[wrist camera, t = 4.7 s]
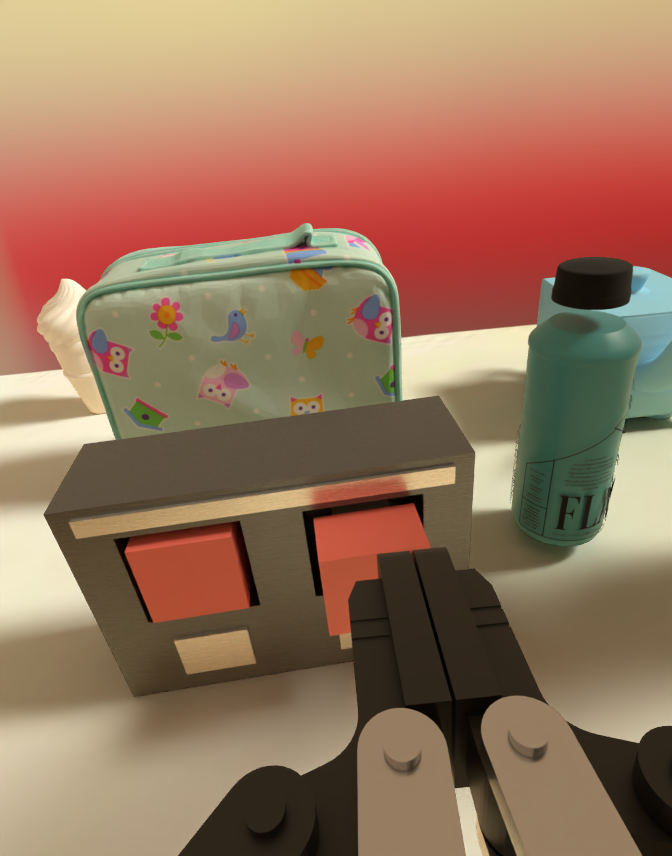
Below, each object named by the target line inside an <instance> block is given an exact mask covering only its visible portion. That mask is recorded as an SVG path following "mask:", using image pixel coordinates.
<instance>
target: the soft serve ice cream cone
mask: <svg viewBox="0 0 672 856" xmlns="http://www.w3.org/2000/svg"><path fill="white" fill-rule="evenodd" d="M85 292H86V290H85V289H83V287H81V286H80V285H79V284H78V283H76V282H75V281H73V280H70V279H62V280H61V283H60V286H59V289H58V291H57V293H56V295H55V296H53V298H52V299H50V300H48V301H47V304H45V305H44V306H43V307H42V312H41V313H40V314H39V316H38V318H37V322H38V323H39V325H38V327H37V331H38V332H39V333H40V334H42V335H44V339H45V340H46V341H48V343H49V346H50V349H51V351H53V352H54V353H55V355H56V357H57V359H58V361H59V363H60V365H61V367H62V369H63V373H64V376H65V377H66V378H68V379H69V381H70V382H71V384H72V385H73V387H74V388H75V390H76V391H77V393H78V394H79V396H80V397H81V399H82V400H83V402H84V403H85V405H86V406H87V408H88V409H89V411H90V412H92V413H95V414H102V413H106V410H105V407H104V404H103V402H102V399H101V396H100V393H99V390H98V387H97V384H96V381H95V378H94V376H93V373H92V371H91V368H90V366H89V363H88V360H87V357H86V354H85V351H84V349H83V346H82V343H81V340H80V336H79V331H78V327H77V321H76V309H77V305H78V302H79V300H80V298H81V297H82V295H83V294H84V293H85Z"/></svg>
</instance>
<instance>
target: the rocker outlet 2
mask: <svg viewBox="0 0 672 856" xmlns="http://www.w3.org/2000/svg"><path fill="white" fill-rule="evenodd" d="M331 508H332V515H330V516H323V517H316V518H313V519H314V528H315V536H316V545H317V553H318V561H319V568H320V575H321V581H322V588H323V595H324V601H325V608H326V615H327V621H328V628H329V635H330V636H334V635H340V634H347V633H351V628H350V617H349V606H348V599H349V596H350V594H351V592H352V589H353V587H354V585H355V582H356V581H361V580H371V579H378V568H377V554H382V553H392V552H401V551H410V552H411V553H412V550H419V549H428V548H430V543H429V541H428V538H427V536H426V533H425V531H424V528H423V526H422V523H421V520H420V518H419V515H418V513H417V510H416V508H415V505H414V503H411V504H404V505H397V506H389V503H388V500H387V499H383V500H377V501H370V502H363V503H356V504H349V505H343V506H336V507H331Z"/></svg>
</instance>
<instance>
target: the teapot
mask: <svg viewBox="0 0 672 856" xmlns="http://www.w3.org/2000/svg"><path fill="white" fill-rule="evenodd" d="M554 283H555V278H546V279H543V280H542V286H541V295H540V303H539V312H538V321H537V326H539V325H540V324H541V323H543V322H544V321H546V320H547V319H548V318H550V317H551V316H553V315H555V314H557V313H561V312H565V311H572V310H583V309H574V308H569V307H565V306H561V305H559V304H556V303H555V302H553V301H552V299H551V295H552V288H553V286H554ZM631 289H632V292H631V298H630V302H629V303H628V304H626V305H624V306H622V307H618V308H614V309H606V310H591V311H600V312H606V313H610V314H613V315H616V316H619V317H621V318H622V319H624V320H625V321H626V322H627V323H628V324H629V325H630V326H631V327H632V328H633V329H634V330H635V331H636V333H637V334H638V335H639V337H640V338H641V341H642V348H641V351H640V353H639V355H638V359H637V364H636V369H635V374H634V381H633V383H632V390H631V396H632V397H631V396H630V399H632V401H629V403H630V404H631V403H632V404H631V405H630V406H631V408H630V407H629V405H628V409H627V412H628V413H627V414H626V418H634V417H644V416H646V417H648V418H652V419H659V420H663V419H668V418H670V417H671V416H672V278H670V277H667V276H665V275H663V274H660V273H658V272H655V271H653V270H651V269H648V268H642V267H634V266H633V276H632V284H631ZM633 395H634V396H633ZM629 408H630V409H629ZM628 410H629V411H628ZM628 415H629V416H628Z"/></svg>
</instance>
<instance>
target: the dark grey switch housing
mask: <svg viewBox="0 0 672 856" xmlns="http://www.w3.org/2000/svg"><path fill="white" fill-rule="evenodd" d="M474 465H475V451H474V450H473V448H472V447H471V445H470V444H469V442H468V441H467V439H466V437H465V436H464V434H463V433H462V431H461V430H460V428H459V427H458V425H457V423H456V422H455V420H454V419H453V417H452V416H451V414H450V413H449V411H448V409H447V408H446V406H445V405H444V403H443V402H442V400H441V399H440V397H439V396H433V397H426V398H419V399H412V400H404V401H397V402H390V403H382V404H375V405H368V406H360V407H353V408H346V409H339V410H331V411H324V412H317V413H309V414H302V415H295V416H287V417H280V418H273V419H266V420H258V421H251V422H244V423H236V424H229V425H222V426H214V427H207V428H200V429H193V430H185V431H178V432H171V433H163V434H156V435H149V436H141V437H134V438H127V439H120V440H112V441H105V442H98V443H90V444H84V445H83V447H82V449H81V451H80V452H79V454H78V456H77V457H76V459H75V461H74V463H73V464H72V466H71V468H70V470H69V471H68V473H67V475H66V476H65V478H64V480H63V482H62V483H61V485H60V487H59V489H58V490H57V492H56V494H55V495H54V497H53V499H52V501H51V502H50V504H49V506H48V508H47V509H46V511H45V513H44V514H43V515H44V517H45V519H46V521H47V523H48V525H49V527H50V529H51V531H52V533H53V535H54V537H55V539H56V541H57V543H58V545H59V547H60V549H61V551H62V553H63V555H64V557H65V559H66V561H67V563H68V565H69V567H70V569H71V571H72V573H73V575H74V577H75V579H76V581H77V583H78V585H79V587H80V589H81V591H82V593H83V595H84V597H85V599H86V601H87V603H88V605H89V607H90V609H91V611H92V613H93V615H94V617H95V619H96V621H97V623H98V625H99V627H100V629H101V631H102V633H103V635H104V637H105V639H106V641H107V643H108V645H109V647H110V649H111V651H112V653H113V655H114V657H115V659H116V661H117V663H118V665H119V667H120V669H121V671H122V673H123V675H124V677H125V679H126V681H127V683H128V685H129V687H130V689H131V691H132V693H133V695H134V697H135V696H141V695H147V694H153V693H160V692H166V691H172V690H178V689H184V688H190V687H196V686H202V685H208V684H215V683H221V682H227V681H233V680H239V679H245V678H251V677H257V676H264V675H270V674H276V673H282V672H288V671H294V670H300V669H306V668H312V667H319V666H325V665H331V664H337V663H343V662H349V661H354V660H353V649H352V638H351V633H347V634H340V635H334V636H330V635H329V628H328V621H327V615H326V608H325V601H324V595H323V588H322V581H321V575H320V568H319V561H318V553H317V545H316V536H315V528H314V519H313V518H316V517H323V516H330V515H332V508H331V507H336V506H343V505H349V504H356V503H363V502H370V501H377V500H383V499H387V500H388V503H389V506H397V505H404V504H411V503H414V505H415V508H416V510H417V513H418V515H419V518H420V520H421V523H422V526H423V528H424V531H425V533H426V536H427V538H428V541H429V543H430V548H438V547H446V548H447V550H448V552H449V555H450V557H451V560H452V563H453V565H454V568H455V570H465V569H469V553H470V536H471V518H472V501H473V483H474ZM234 521H240V524H241V528H242V532H243V536H244V540H245V544H246V548H247V552H248V556H249V560H250V564H251V579H250V606H249V608H246V609H240V610H233V611H227V612H221V613H214V614H208V615H201V616H195V617H189V618H182V619H176V620H169V621H163V622H157V623H153V620H152V618H151V615H150V613H149V611H148V608H147V606H146V603H145V601H144V598H143V596H142V594H141V591H140V589H139V586H138V584H137V581H136V579H135V577H134V574H133V572H132V569H131V567H130V564H129V562H128V560H127V557H126V555H125V550H126V547H127V544H128V541H129V538H130V537H132V536H139V535H146V534H152V533H159V532H166V531H173V530H180V529H186V528H193V527H200V526H207V525H214V524H220V523H227V522H234Z"/></svg>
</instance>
